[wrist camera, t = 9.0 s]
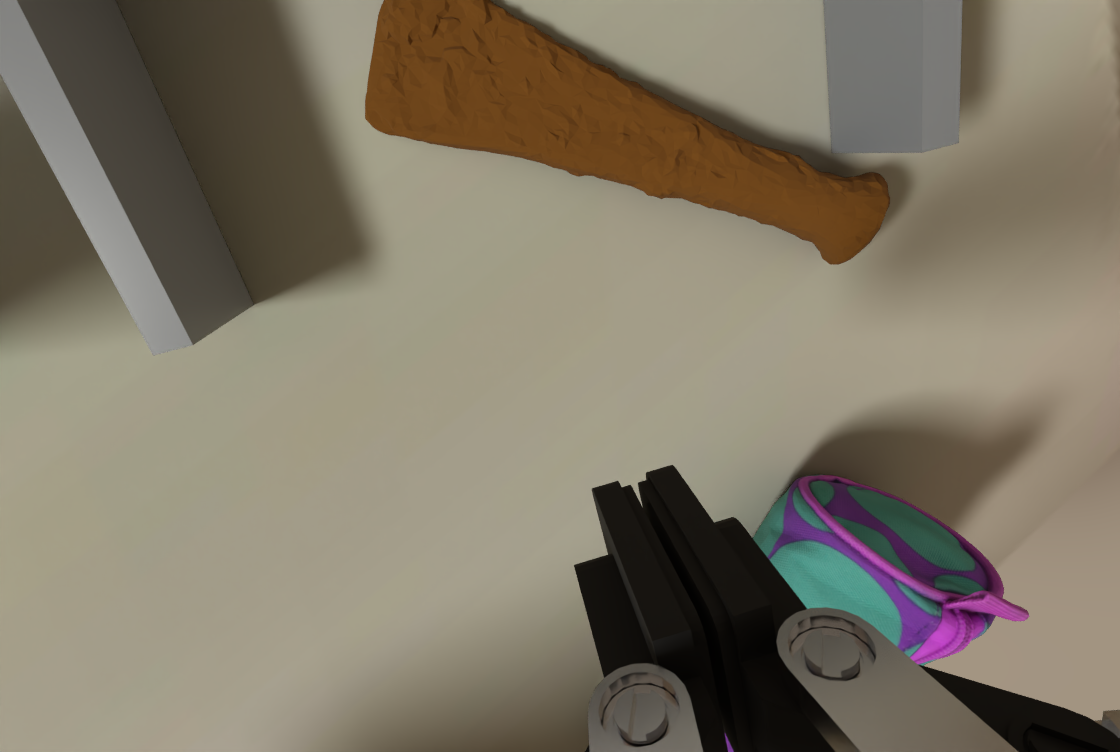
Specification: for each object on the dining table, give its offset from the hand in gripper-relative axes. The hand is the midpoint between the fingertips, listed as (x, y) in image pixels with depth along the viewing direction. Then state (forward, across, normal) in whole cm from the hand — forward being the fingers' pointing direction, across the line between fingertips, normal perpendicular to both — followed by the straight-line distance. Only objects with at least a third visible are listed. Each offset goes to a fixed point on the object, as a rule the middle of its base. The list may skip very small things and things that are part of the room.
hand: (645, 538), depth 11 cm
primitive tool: (+14, -4, -7) cm, 16 cm away
